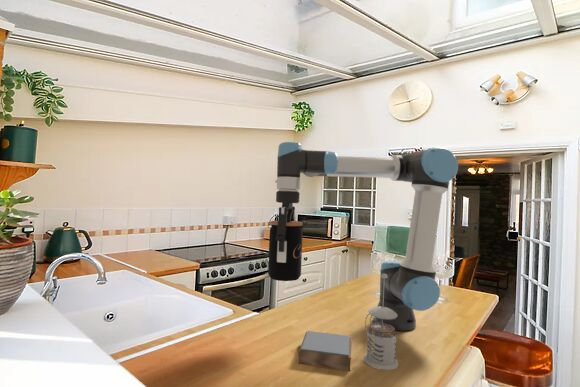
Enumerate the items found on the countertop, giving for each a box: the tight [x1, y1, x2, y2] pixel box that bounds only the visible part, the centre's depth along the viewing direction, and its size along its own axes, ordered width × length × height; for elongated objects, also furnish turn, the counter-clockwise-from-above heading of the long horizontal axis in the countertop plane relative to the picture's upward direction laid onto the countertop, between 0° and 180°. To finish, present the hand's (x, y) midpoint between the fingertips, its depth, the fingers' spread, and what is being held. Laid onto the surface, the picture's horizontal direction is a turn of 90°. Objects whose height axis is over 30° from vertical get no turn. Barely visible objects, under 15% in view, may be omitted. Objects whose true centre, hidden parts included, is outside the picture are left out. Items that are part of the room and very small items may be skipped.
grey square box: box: [298, 330, 352, 372], centre depth 98 cm, size 14×14×4 cm
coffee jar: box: [267, 220, 304, 282], centre depth 109 cm, size 11×11×18 cm
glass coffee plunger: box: [362, 274, 399, 371], centre depth 98 cm, size 10×12×25 cm
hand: (285, 259), depth 109 cm, fingers closed on coffee jar, 11 cm apart
